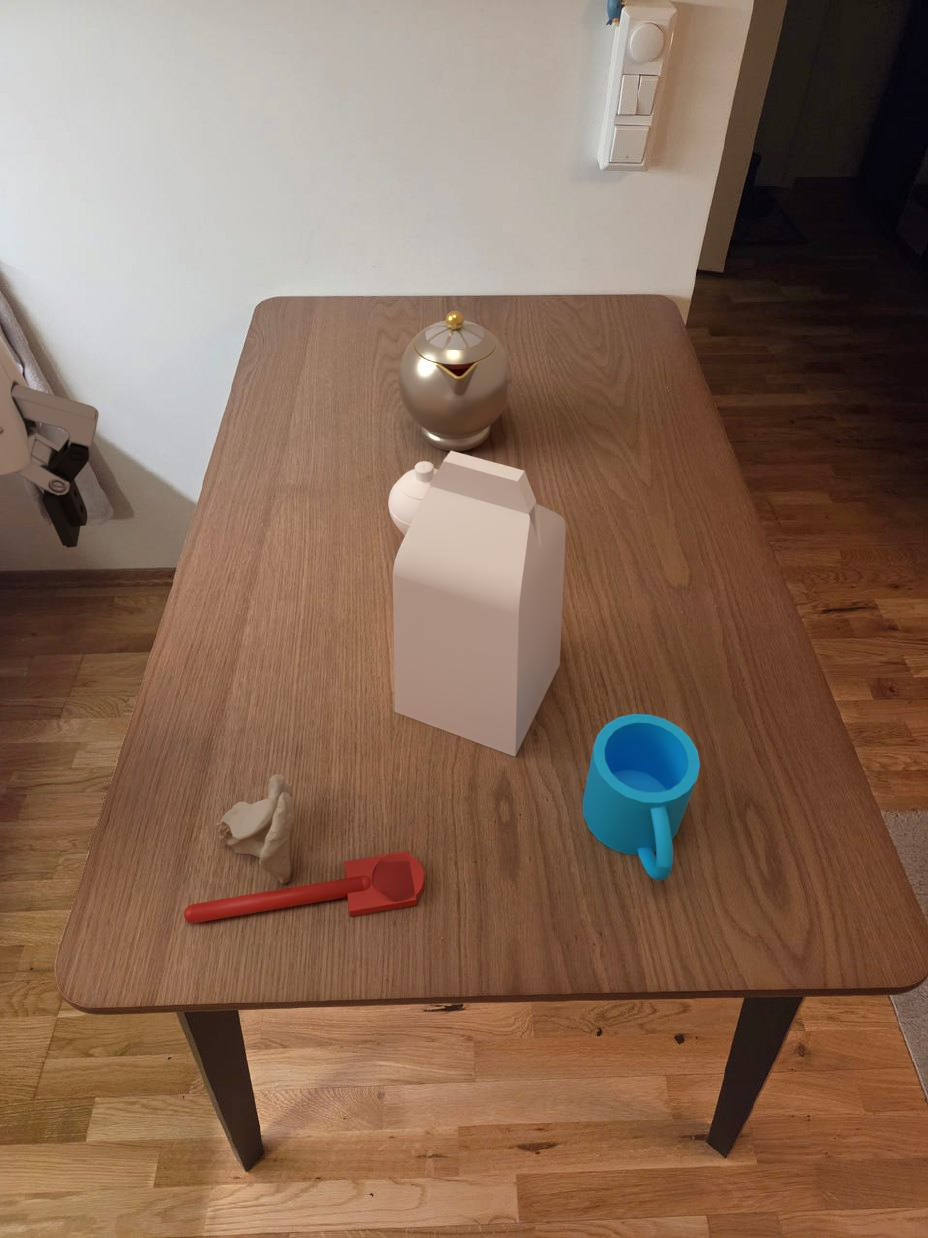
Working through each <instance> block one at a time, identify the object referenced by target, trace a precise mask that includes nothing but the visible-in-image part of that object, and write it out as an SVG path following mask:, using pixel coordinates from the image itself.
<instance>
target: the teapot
mask: <svg viewBox="0 0 928 1238" xmlns="http://www.w3.org/2000/svg"><path fill="white" fill-rule="evenodd" d="M397 379H398V390H399V395H400V398H401V401H402V403H403V406H404V407H405V409H406V411H407V412H408V414H409V415H410V416H411V418H412V419H413V420H414V421H415V422H416V423H417V424H418V425H419V430H420V433H421V436H422V438H423V439H424V441H425V442H427V443H428V444H429V445H431V446H432V447H433V448H436V449H438V450H442V451H447V452H450V451H454V452H465V451H469V450H473V449H475V448H478V447H479V446H481V445H482V444H483V443H484V442H485V441H487V440H488V438H489V436H490V434H491V429H492V425H493V423H495V422H496V421H497V420H498V418H500V416H501V414H502V413H503V412H504V410H505V408H506V406H507V405H508V402H509V399H510V396H511V393H512V385H513V372H512V366H511V361H510V358H509V356H508V353H507V352H506V349H505V348H504V346H503V344H502V343H501V342H500V341H499V339H498V338H497V337H496V336H495V335H494V334H493V333H492V332H490V330H488V329H487V328H485V327H484V326H482V325H480V324H478V323H475V322H472V321H470V320H469V321H468V320H465V319H464V316H463V314H462V313H461V312H460V311H457V310H452V311H450V312H449V313H447V315H446V316H445V320H441V321H438V322H435V323H433V324H430V325H429V326H427V327H424V329H422V330H421V331H419V333H417V334H415V336H414V337H413V338H412V339H411V341H410V342H409V343H408V345H407V347H406V348H405V350H404V352H403V354H402V357H401V359H400V362H399V367H398V375H397Z"/></svg>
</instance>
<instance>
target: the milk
mask: <svg viewBox="0 0 928 1238" xmlns="http://www.w3.org/2000/svg"><path fill="white" fill-rule="evenodd" d="M437 469H438V471H437V473H436V475H435V476H434V478H433V480H432V482H431V483H430V485H431V487H429V488H428V489H427V491H426V493H425V495H424V498H423V500H422V502H421V504H420V506H419V508H418V510H417V512H416V514H415V516H414V518H413V520H412V523H411V525H410V527H409V529H408V531H407V533H406V535H405V536H404V537H403V539H402V541H401V544H400V546H399V548H398V551H397V552H396V556H395V559H394V562H393V567H392V619H393V620H392V626H393V627H392V629H393V631H392V632H393V634H392V635H393V699H394V700H393V704H394V705H393V707H394V713H396V714H398V715H401V716H403V717H407V718H409V719H412V720H415V721H418V722H420V723H423V724H426V725H428V726H430V727H433V728H436V729H439V730H441V731H444V732H447V733H449V734H453V735H455V736H457V737H459V738H463V739H466V740H468V741H471V742H474V743H476V744H480V745H482V746H485V747H486V748H487V747H488V748H490V749H492V750H495V751H498V752H501V753H503V754H506V755H508V756H512V757H514V758H516V756H517V754H518V752H519V750H520V748H521V746H522V745H523V743H524V740H525V738H526V736H527V734H528V732H529V729H530V727H531V726H532V723H533V721H534V720H535V717H536V715H537V713H538V711H539V709H540V708H541V707H540V706H541V705H542V702H543V700H544V699H545V696H546V694H547V692H548V690H549V688H550V686H551V684H552V682H553V680H554V678H555V676H556V673H557V671H558V670H559V667H560V665H561V646H562V645H561V643H562V624H563V621H562V620H563V601H564V600H563V599H564V597H563V596H564V578H565V577H564V576H565V557H566V536H567V527H566V525H567V524H566V521H565V519H564V517H563V516H562V515H561V514H559V513H557V512H555V511H553V510H551V509H549V508H547V507H545V506H542V505H541V504H538V503H537V499H536V497H535V494H534V491H533V489H532V487H531V484H530V482H529V479H528V476H527V474H526V471H525V470H524V469H519V468H516V467H512V466H508V465H505V464H501V463H497V462H494V461H490V460H486V459H483V458H480V457H475V456H473V455H472V456H471V455H469V454H465V453H461V452H459V451H449V452H448V454H447V455H446V456H445V458H443V460H442V462H441V464H440V465H439V467H438V468H437Z"/></svg>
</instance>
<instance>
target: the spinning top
mask: <svg viewBox="0 0 928 1238" xmlns="http://www.w3.org/2000/svg"><path fill="white" fill-rule="evenodd" d="M438 469H439V468H435V465H434V464H433V463H432V462H430V461H426V460H423V461H419V462H417V463H416V464H415V465H414V468H413V469H410V470H408V471H406V472H405V473H403V475H402V476H401V477H400V478H399V479H398V480H397V481H396V482H395V483H394V485H393V486H392V488H391V490H390V492H389V495H388V503H387V504H388V505H387V507H388V511H389V515H390V517H391V520H392V521H393V523H394V525H395V526H396V528H397V529H398V530H399V531H400V532H401V533H402V535H403V536H404V537H405V535H406V533H407V531H408V529H409V527H410V525H411V523H412V520H413V518H414V516H415V514H416V512H417V510H418V508H419V506H420V504H421V502H422V500H423V498H424V495H425V493H426V491H427V489H428V488H429V487H431V485H430V483H431V482H432V480H433V478H434V476H435V475H436V473H437V471H438Z"/></svg>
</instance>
